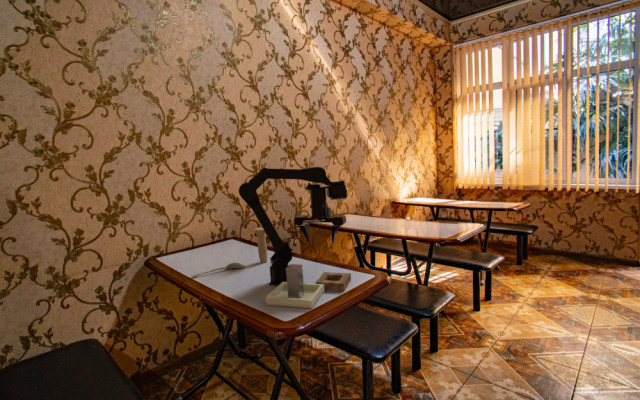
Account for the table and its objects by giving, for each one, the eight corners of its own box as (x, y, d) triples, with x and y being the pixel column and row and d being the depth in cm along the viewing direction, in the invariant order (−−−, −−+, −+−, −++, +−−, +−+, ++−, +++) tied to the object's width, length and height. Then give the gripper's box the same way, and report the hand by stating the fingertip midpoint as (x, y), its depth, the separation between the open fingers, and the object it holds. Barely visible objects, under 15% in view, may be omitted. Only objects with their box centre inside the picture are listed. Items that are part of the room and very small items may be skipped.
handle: (264, 259, 154) (261, 226, 153) (272, 261, 150) (269, 228, 148) (255, 261, 151) (252, 228, 149) (262, 264, 146) (259, 230, 145)
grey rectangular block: (288, 298, 108) (285, 268, 107) (292, 293, 112) (290, 264, 111) (299, 299, 107) (297, 268, 106) (304, 294, 111) (302, 264, 109)
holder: (315, 289, 116) (315, 282, 115) (324, 278, 125) (324, 272, 125) (344, 291, 113) (344, 283, 112) (351, 280, 122) (350, 273, 122)
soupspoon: (247, 270, 144) (242, 267, 150) (246, 262, 144) (241, 259, 149) (193, 281, 132) (189, 277, 138) (192, 272, 132) (189, 269, 138)
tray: (266, 305, 106) (265, 297, 105) (283, 288, 118) (282, 282, 118) (311, 308, 101) (311, 300, 101) (324, 291, 113) (324, 284, 113)
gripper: (348, 197, 129) (350, 237, 131) (302, 198, 134) (305, 237, 136) (341, 201, 118) (343, 245, 120) (291, 202, 124) (294, 244, 126)
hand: (321, 242), depth 126 cm, fingers open, 9 cm apart
